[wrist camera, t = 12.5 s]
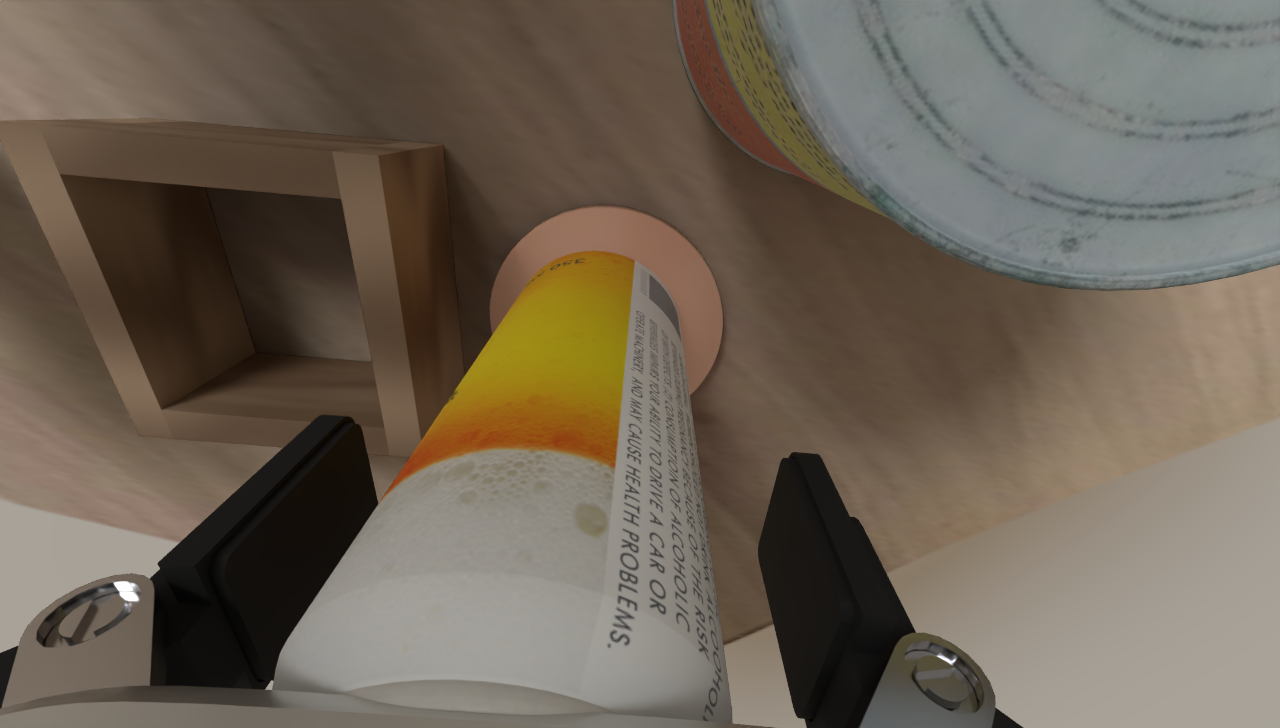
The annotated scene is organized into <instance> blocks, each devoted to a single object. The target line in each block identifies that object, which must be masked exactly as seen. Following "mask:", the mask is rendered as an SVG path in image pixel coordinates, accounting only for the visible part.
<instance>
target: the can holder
mask: <svg viewBox="0 0 1280 728" xmlns="http://www.w3.org/2000/svg"><path fill="white" fill-rule="evenodd" d="M0 141H1V143H2V145H3V147H4V149H5V151H6V153H7V155H8V158H9V160H10V162H11V164H12V166H13V168H14V170H15V172H16V175H17V177H18V179H19V181H20V183H21V185H22V187H23V190H24V192H25V194H26V196H27V198H28V200H29V202H30V204H31V207H32V209H33V211H34V213H35V215H36V217H37V219H38V221H39V224H40V226H41V228H42V230H43V232H44V234H45V236H46V239H47V241H48V243H49V245H50V247H51V249H52V251H53V253H54V256H55V258H56V260H57V262H58V264H59V266H60V268H61V270H62V273H63V275H64V277H65V279H66V281H67V283H68V285H69V288H70V290H71V292H72V294H73V296H74V298H75V300H76V302H77V305H78V307H79V309H80V311H81V313H82V315H83V317H84V319H85V322H86V324H87V326H88V328H89V330H90V332H91V334H92V337H93V339H94V341H95V343H96V345H97V347H98V349H99V351H100V354H101V356H102V358H103V360H104V362H105V364H106V366H107V368H108V371H109V373H110V375H111V377H112V379H113V381H114V383H115V386H116V388H117V390H118V392H119V394H120V396H121V398H122V400H123V403H124V405H125V407H126V409H127V411H128V413H129V415H130V418H131V420H132V422H133V424H134V426H135V428H136V430H137V432H138V435H139V436H146V437H159V438H171V439H184V440H196V441H209V442H222V443H234V444H247V445H259V446H272V447H285V446H286V445H287V444H288V443H289V442H290V441H292V440H293V439H294V438H295V437H296V436H297V435H298V434H299V433H300V432H301V431H302V430H304V429H305V428H306V427H307V426H308V425H309V424H310V423H311V422H312V421H313V420H314V419H316V418H317V417H318V416H320V415H324V414H326V415H338V416H349V417H352V418H353V420H354V421H355V424H359V425H360V426H361V428H362V431H363V436H364V440H365V445H366V449H367V454H373V455H386V456H398V457H410V456H411V455H412V454H413V452H414V451H415V449H416V448H417V446H418V445H419V443H420V442H421V440H422V439H423V437H424V436H425V434H426V433H427V431H428V430H429V428H430V427H431V425H432V424H433V422H434V421H435V419H436V418H437V416H438V415H439V413H440V412H441V410H442V409H443V408H444V406H445V405H446V403H447V402H448V400H449V399H450V397H451V396H452V394H453V393H454V391H455V390H456V388H457V387H458V385H459V384H460V382H461V381H462V379H463V378H464V376H465V375H464V365H463V354H462V343H461V333H460V322H459V311H458V301H457V290H456V279H455V269H454V258H453V247H452V237H451V226H450V216H449V205H448V194H447V184H446V173H445V162H444V152H443V145H440V144H429V143H418V142H407V141H396V140H385V139H373V138H362V137H351V136H340V135H329V134H318V133H307V132H295V131H284V130H273V129H262V128H251V127H240V126H228V125H217V124H206V123H195V122H184V121H173V120H161V119H150V118H140V119H81V120H23V121H0ZM205 187H212V188H223V189H235V190H246V191H258V192H269V193H280V194H292V195H303V196H315V197H326V198H338V199H341V200H342V206H343V211H344V216H345V222H346V227H347V232H348V237H349V243H350V248H351V253H352V259H353V264H354V269H355V274H356V280H357V285H358V290H359V296H360V301H361V306H362V311H363V317H364V322H365V327H366V333H367V338H368V343H369V348H370V354H371V359H372V362H364V361H352V360H340V359H328V358H316V357H304V356H292V355H279V354H267V353H255V349H254V346H253V343H252V340H251V336H250V333H249V330H248V327H247V323H246V320H245V317H244V314H243V310H242V307H241V304H240V301H239V297H238V294H237V291H236V288H235V285H234V281H233V278H232V275H231V272H230V268H229V265H228V262H227V259H226V255H225V252H224V249H223V246H222V242H221V239H220V236H219V233H218V229H217V226H216V223H215V220H214V216H213V213H212V210H211V207H210V203H209V200H208V197H207V194H206V190H205Z"/></svg>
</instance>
